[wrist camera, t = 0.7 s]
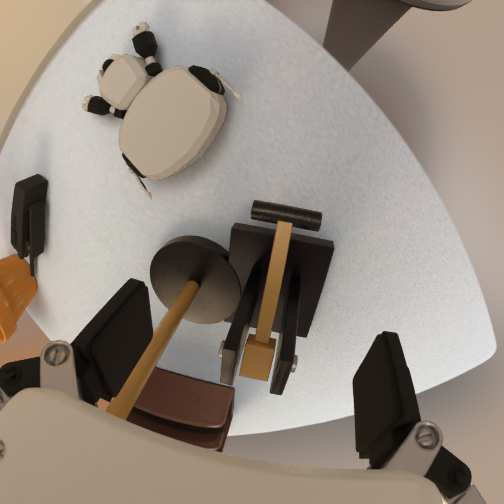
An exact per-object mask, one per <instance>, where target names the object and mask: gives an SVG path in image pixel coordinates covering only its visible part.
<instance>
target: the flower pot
mask: <svg viewBox="0 0 504 504" xmlns="http://www.w3.org/2000/svg"><path fill="white" fill-rule="evenodd" d="M36 291H37V282H36V280H35V276H33V277H32V276H31V274H30V266H29V265H28V263H27V262H26V261H25V260H24V259H20V258H19V257H18V255H17V254H14V255H11V256H9V257H6V258H4V259H1V260H0V342H2V343H5V342H6V341H7V340H8V339H9V338H10V337H11V335H12V334H13V333H14V332H15V330H16V328H17V324H16V323H17V321H18V319H19V318H20V316H21V315H22V313H23V311H24V310H25V308H26V307H27V305H28V304H29V302H30V301H31V299H32V297H33V296H34V294H35V293H36Z"/></svg>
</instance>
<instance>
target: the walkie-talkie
mask: <svg viewBox="0 0 504 504" xmlns="http://www.w3.org/2000/svg"><path fill="white" fill-rule="evenodd" d="M46 190H47V181H46V180H45V179H44V178H43V177H41V176H40V175H39V174H36V175H34V176H31V177H29V178H26V179H24V180H22V181H19V182H17V183H16V184H15V188H14V195H13V203H12V213H11V244H12V246H13V247H14V248H15V249H16V251H17V252H18V257H19V258H20V259H24V258H25V257H28V255H29V256H30V274H31V276H32V277H33V276H34V258H36V257H37V256H38V255H40V254H41V253H42V252H43V251H44V240H45V205H46V203H45V198H46Z"/></svg>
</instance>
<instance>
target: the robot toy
mask: <svg viewBox="0 0 504 504" xmlns="http://www.w3.org/2000/svg"><path fill="white" fill-rule="evenodd" d="M133 36H134V38H133V39H132V41H133V44H134V48H135V51H136V53H138V54H139V55H140V56H141V57H143V58H144V59H142V58H139V57H135V56H132V55H128V54H124V55H117V54H113V55H111V56H110V57H108V58H109V59H108V60H106V61H105V62H104V64H103V67H102V68H103V70H99V73H98V76H97V79H98V82H99V85H100V93H101V96H102V97H99V96H94V97H93V96H92V95H88V96H86V97H85V98H84V101H87V103H85V104H83V105H82V108H83V109H84V110H86V111H87V112H91V113H94V114H98V115H102V116H103V115H106V114H109V113H111V112H112V113H114V116H115V117H118V118H121V119H123V122H122V124H121V128H120V133H119V145H120V150H121V151H122V152H123V153H122V156H123V158H124V160H125V161H126V164H127V165H128V166H129V167H130V168H129V170H130V172H131V173H133V174H134V176H135V177H136V179H137V181H138V182H139V184H140V185H141V187H142V189H143V190H144V192H145V195H146V196H147V198H149V199H152V195H151V194H150V192H148V190H147V188H146V187H145V185H144V184H143V182H142V181H141V179H140V177H141V178H146V177H148V178H150V179H152V180H158V179H163V178H166V177H169V176H172V175H174V174H177V173H179V172H180V171H182V170H183V169H185V168H187V167H188V166H189V165H191V164H192V163H193V162H194V161H195V160H197V159H198V158H199V157H201V156H202V155H203V154H204V153H205V152H206V150H207V149H208V147H209V146H210V144H211V143H212V141H213V140H214V139H215V137H216V136H217V134H218V132H219V130H220V129H221V127H222V125H223V123H224V120H225V117H226V111H227V105H226V102H225V100H224V97H223V95H224V92H225V89H224V87H223V85H222V83H221V81H222V82H223V83H224V84H225V85H226V86H227V87H228V88H229V89H230V90H231V91H232V92H233V94H234V95H235V96H236V97H237V98H239V99H241V100H242V97H241V95H240V94H239V93H238V92H236V91H235V90H234V89H233V88H232V87H231V86H230V85H229V84H228V83H227V82H226V81H225V80H223V79H222V78H221V77H220V76H219V73H218V72H217V71H216V70H214V69H213V68H212V69H211V70H208V69H206V68H202V67H199V66H195V65H193V66H191V67H189V68H186V67H181V66H174V67H171V68H168V69H166V70H164V71H162V68H161V65H160V64H159V63H156V62H155V59H154V56H155V53H156V50H157V44H156V40H155V37H154V34H153V33H152V32H150V31H149V25H148V24H147V22H141V23H140V26H135V27H134V28H133ZM220 80H221V81H220ZM139 176H140V177H139Z"/></svg>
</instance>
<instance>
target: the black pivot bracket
mask: <svg viewBox="0 0 504 504" xmlns="http://www.w3.org/2000/svg"><path fill="white" fill-rule="evenodd" d="M275 232H276V230H273V229H267V228H262V227H256V226H251V225H245V224H240V223H235V224H234V225H233V227H232V228H231V237H230V248H229V259H228V262H229V264H230V265H231V266H232V268H233V269H234V271H235V272H236V274H237V277H238V279H239V282H240V286H241V299H240V302H239V305H238V307H237V309H236V311H235V312H234V313H233V314H232V315H231V316H230V317H228V318H227V319H225V320H224V321H226V322H230V323H232V324H231V327H230V329H229V332H228V335H227V337H226V340H225V341H222V343H221V345H220V349H219V357H220V358H222V364H221V378H220V383H224V384H228V385H233V381H234V378H235V375H236V371H237V368H238V364H239V361H240V358H241V354H242V351H243V347H244V344H245V341H246V337H247V334H248V330H249V327H253V328H257V325H258V320H259V315H260V310H261V305H262V300H263V295H264V290H265V285H266V280H267V274H268V269H269V264H270V259H271V254H272V248H273V243H274V238H275ZM333 251H334V243H333V241H329V240H324V239H319V238H314V237H309V236H304V235H299V234H294V233H291V237H290V242H289V247H288V253H287V258H286V263H285V268H284V273H283V278H282V283H281V288H280V293H279V298H278V302H277V307H276V312H275V317H274V321H273V326H272V330H271V331H272V332H278V333H280V334H279V340H278V347H277V353H276V359H275V364H274V370H273V376H272V382H271V387H270V393H271V394H276V395H282V393H283V390H284V388H285V385H286V382H287V380H288V377H289V374H290V372H295V369H296V366H297V360H298V356H297V355H295V345H296V336H299V337H305V338H306V337H307V335H308V332H309V329H310V326H311V323H312V320H313V317H314V314H315V311H316V308H317V305H318V302H319V299H320V295H321V292H322V289H323V286H324V282H325V279H326V276H327V272H328V269H329V266H330V262H331V259H332V255H333Z"/></svg>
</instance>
